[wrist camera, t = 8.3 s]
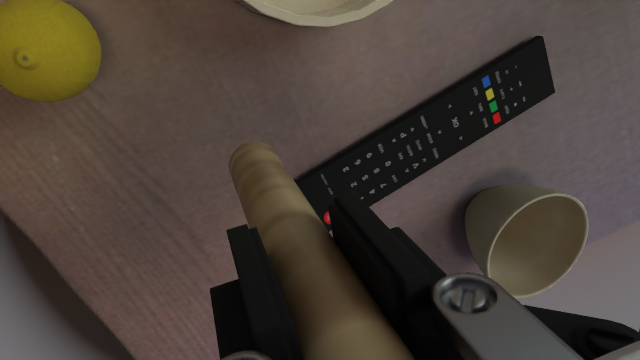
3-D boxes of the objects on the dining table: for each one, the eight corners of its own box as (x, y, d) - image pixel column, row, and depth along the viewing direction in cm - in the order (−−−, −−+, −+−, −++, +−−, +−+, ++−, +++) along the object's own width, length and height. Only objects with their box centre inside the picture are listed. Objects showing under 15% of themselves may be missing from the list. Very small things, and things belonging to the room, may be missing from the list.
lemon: (122, 72, 30) (109, 97, 23) (36, 97, 29) (-6, 131, 22) (84, -17, 28) (56, -19, 21) (-12, 7, 27) (-75, 14, 20)
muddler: (235, 193, 19) (345, 507, 7) (223, 148, 18) (324, 426, 7) (281, 179, 19) (454, 457, 8) (271, 135, 18) (448, 375, 7)
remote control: (543, 89, 41) (555, 92, 40) (315, 229, 39) (320, 237, 38) (531, 35, 38) (543, 36, 37) (286, 181, 37) (290, 188, 35)
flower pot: (432, 189, 41) (480, 225, 35) (525, 147, 43) (587, 174, 36) (450, 272, 46) (495, 317, 39) (533, 231, 47) (590, 269, 41)
